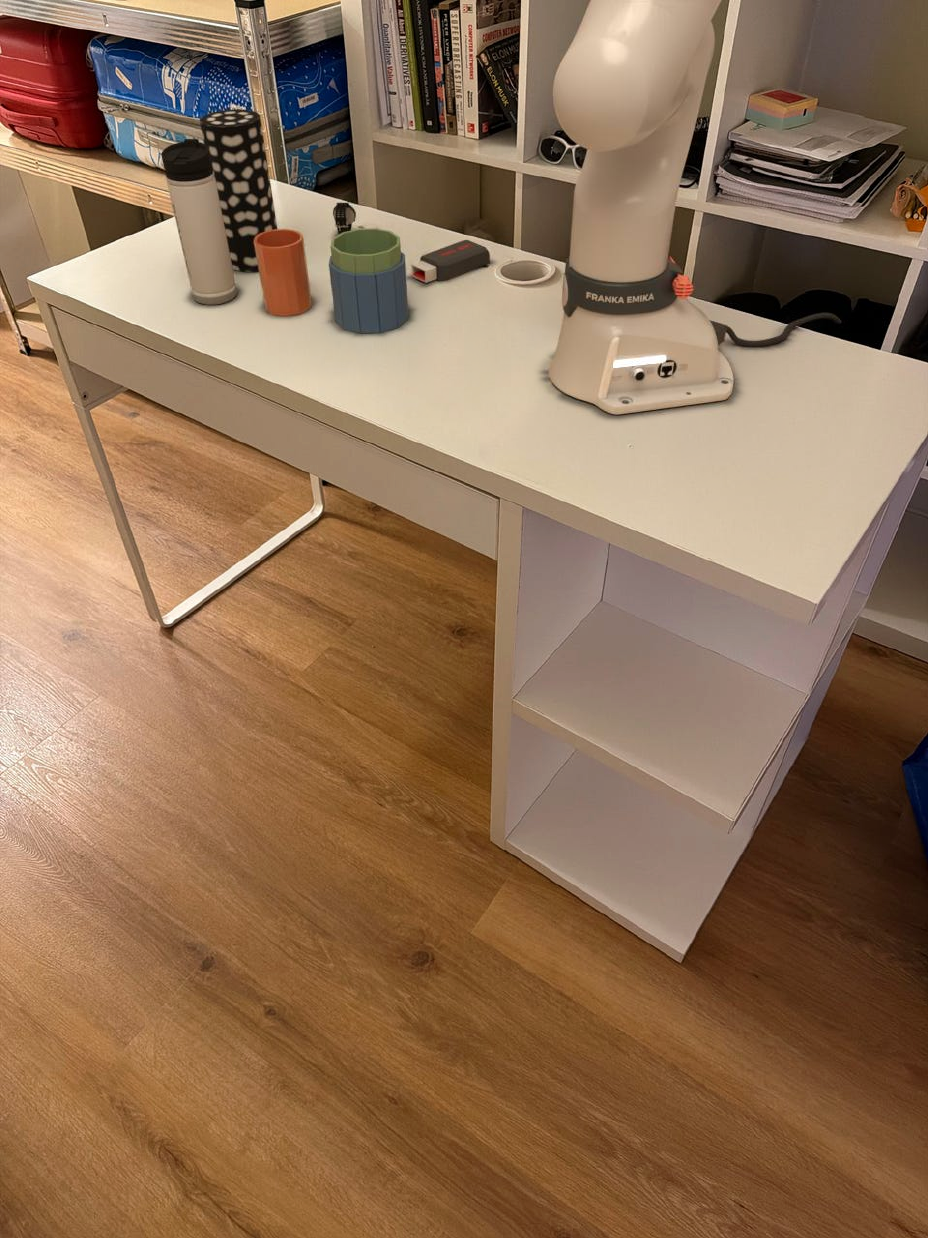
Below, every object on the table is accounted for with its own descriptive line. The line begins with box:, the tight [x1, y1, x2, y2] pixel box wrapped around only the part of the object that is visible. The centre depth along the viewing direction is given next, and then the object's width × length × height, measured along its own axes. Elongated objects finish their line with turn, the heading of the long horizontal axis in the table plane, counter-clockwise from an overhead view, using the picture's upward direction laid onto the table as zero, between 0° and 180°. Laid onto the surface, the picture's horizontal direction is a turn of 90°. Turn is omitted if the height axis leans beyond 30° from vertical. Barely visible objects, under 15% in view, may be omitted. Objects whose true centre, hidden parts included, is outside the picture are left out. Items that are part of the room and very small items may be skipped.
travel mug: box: [160, 138, 238, 306], centre depth 124 cm, size 6×7×20 cm
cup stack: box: [328, 227, 409, 334], centre depth 122 cm, size 10×10×10 cm
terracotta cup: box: [254, 228, 313, 317], centre depth 125 cm, size 6×6×10 cm
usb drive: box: [410, 239, 491, 284], centre depth 136 cm, size 5×12×3 cm, turn 132°
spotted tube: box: [199, 108, 278, 273], centre depth 133 cm, size 8×8×20 cm
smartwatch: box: [332, 202, 357, 235], centre depth 145 cm, size 4×5×5 cm
